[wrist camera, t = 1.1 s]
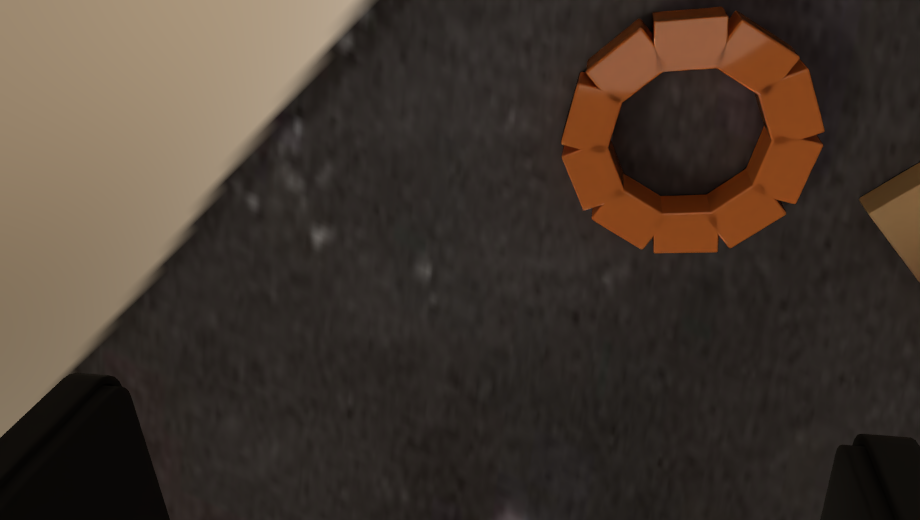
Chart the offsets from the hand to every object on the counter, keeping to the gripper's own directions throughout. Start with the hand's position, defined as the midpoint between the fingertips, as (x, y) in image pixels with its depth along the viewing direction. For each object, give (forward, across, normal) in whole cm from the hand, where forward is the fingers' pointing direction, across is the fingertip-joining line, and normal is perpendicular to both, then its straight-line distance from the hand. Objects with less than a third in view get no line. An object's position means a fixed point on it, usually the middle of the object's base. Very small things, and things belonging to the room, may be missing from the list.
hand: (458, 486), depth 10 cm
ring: (+23, -5, +2) cm, 23 cm away
